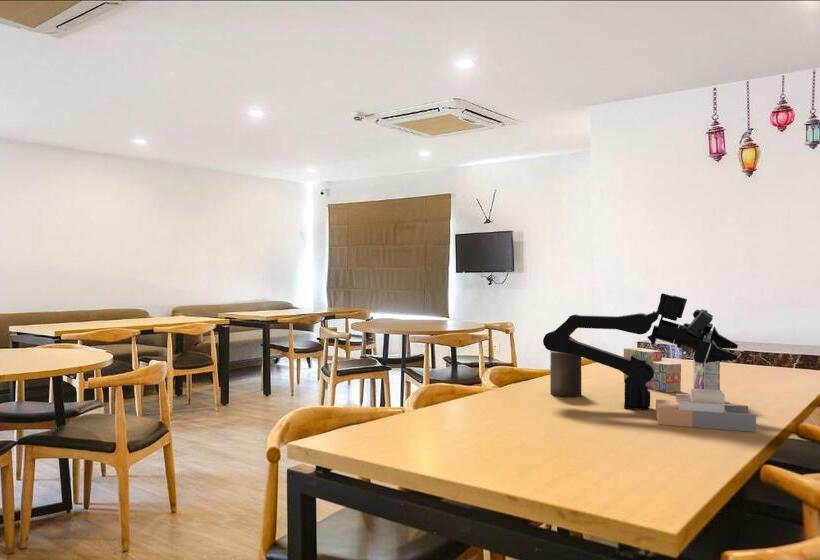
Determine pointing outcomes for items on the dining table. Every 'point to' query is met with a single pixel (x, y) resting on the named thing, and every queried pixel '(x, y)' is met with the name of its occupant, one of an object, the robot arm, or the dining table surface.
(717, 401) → the cream block
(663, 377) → the stack of blocks
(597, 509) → the dining table surface
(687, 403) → the channel walls
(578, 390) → the pillar candle
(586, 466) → the dining table surface
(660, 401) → the grey piece
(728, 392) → the dining table surface
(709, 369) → the candy bar box
